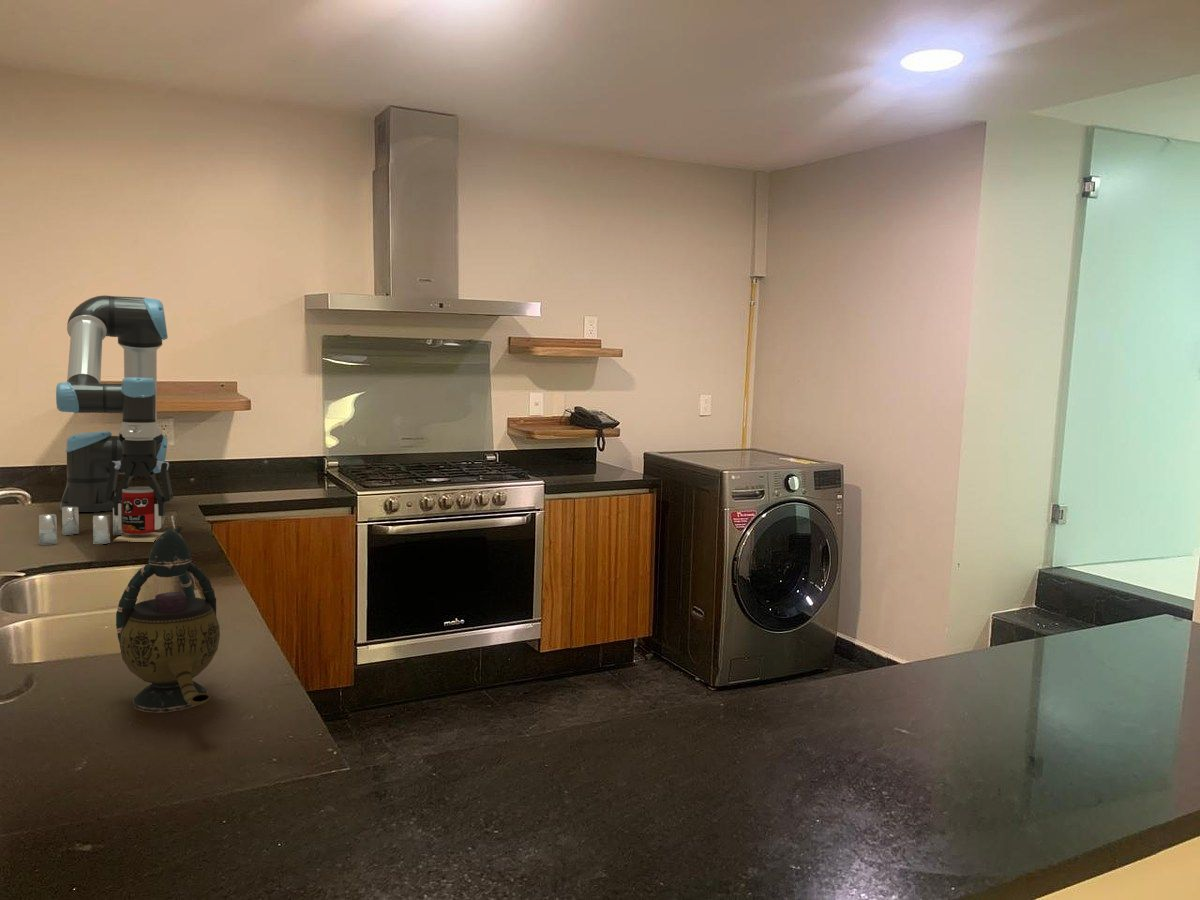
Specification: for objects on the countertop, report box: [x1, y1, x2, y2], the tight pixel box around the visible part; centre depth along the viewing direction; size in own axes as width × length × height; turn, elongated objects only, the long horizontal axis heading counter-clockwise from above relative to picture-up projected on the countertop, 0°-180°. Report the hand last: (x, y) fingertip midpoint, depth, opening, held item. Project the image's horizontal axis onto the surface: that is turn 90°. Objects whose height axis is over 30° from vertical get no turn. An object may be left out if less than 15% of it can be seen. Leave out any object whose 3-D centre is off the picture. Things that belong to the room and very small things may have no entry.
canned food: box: [121, 486, 158, 534], centre depth 225 cm, size 8×8×11 cm
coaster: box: [113, 531, 165, 543], centre depth 225 cm, size 10×9×1 cm
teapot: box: [115, 526, 221, 713], centre depth 115 cm, size 12×25×23 cm, turn 37°
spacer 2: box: [61, 506, 80, 536], centre depth 228 cm, size 4×4×7 cm
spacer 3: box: [92, 514, 111, 544], centre depth 217 cm, size 4×4×7 cm
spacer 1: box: [38, 513, 58, 546], centre depth 215 cm, size 4×4×7 cm
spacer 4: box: [112, 508, 125, 535], centre depth 230 cm, size 4×4×7 cm
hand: (139, 528), depth 225 cm, fingers closed on canned food, 8 cm apart
